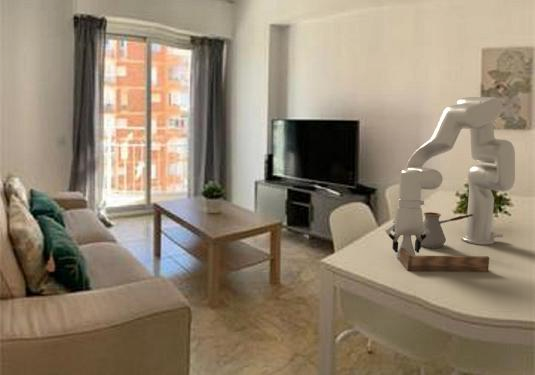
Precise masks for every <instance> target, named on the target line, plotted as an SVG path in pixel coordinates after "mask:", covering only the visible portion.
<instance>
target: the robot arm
mask: <svg viewBox="0 0 535 375" xmlns="http://www.w3.org/2000/svg"><path fill="white" fill-rule="evenodd" d="M502 112H503V103H502V101H501V100H500V99H499V98H497V97H493V96H480V97H479V96H469V97H467V96H466V97H461V98H459V99H458V100H457V101H456V104H455V105H449V106H447V107H445V108H444V110H443V111H442V113H441V115H440V118H439V119H438V122H437V124H436V126H435V128H434V130H433V133H432V134H431V137H430V139H428V141H427V142H425V143H423V144H422V145H421V146H420V147H419V148H417V149H416V150H415V151H414V152H413V154H411V156H410V158H409V159H408V161H407V163H406V166H405V168H404V169H402V170H401V171H400V173H399V186H398V188H399V190H398V201H397V202H398V203H397V206H395V209H394V212H393V219H392V223H391V225H389V226H388V227H386V228H385V230H384V232H385V234H387V236H388V237H389V238H390V239H391V240H392V248H391V249H392V250H393V251H394V252H395V253H396V254H397V252H398V249H399V242H398V240H399V239H400V237H401V236H404V235H411V236H415V241H414V252H416V254H417V253H418V254H419V253H420V250H422V249H421V247H422V246H421V242H422V240H423V239H425V238H426V236H427V235H428V234H429V233H430V230H428V229H427V228H426V227H425V226H424V225H423V222H424V219H423V217H424V216H423V215H424V214H423V209H422V205H425V201H424V200H421V199H422V198H421V197H422V190H431V191H432V190H433V191H434V190H435V189H437V188H439V187H441V185H442V184H443V181H444V180H443V174H442V173H441V172H440V171H438V170H437V169H434V168H429V167H423V166H424V165H425V163H427V161H429V160H430V159H432V158H433V157H436V156H439V155H442V154H445V153H447V152H449V151H451V150H452V149H453V148H454V145H455V144H456V141H457V140H458V137H459V135H460V132H461V130H463V129H464V130H465V129H466V130H469V133H470V153H471V158H472V159H473V160H474V161H475V162H480V164H475V165H473V166H471V167H470V168H469V170H468V172H467V183H468V184H467V185H468V201H467V211H466V213H467V214H466V215H469V214H473V215H474V216H473V218H472V216H471V217H470V216H469V217H468V218H466V224H465V225H466V227H465V234H462V235H461V236H460V239H461V241H462V242H465V243H469V244H474V245H480V246H481V245H483V246H484V245H485V246H488V245H493V244H494V243H495V241H496V240H495V238H503V237H504V233H503V232H497V231H493V230H492V228H493V227H492V226H493V225H492V224H493V218H494V217H493V216H494V215H493V214H494V207H495V206H494V204H495V197H494V194H493V192H492V191H498V192H504V193H505V192H508V191H509V192H510V191H511V190H512V188H514V185H515V181H516V180H515V179H516V151H515V147H514V144H513V143H512V142H511V141H509V140H507V139H501V138H500V139H499V138H496V137H495V127H494V121H496V120H497V119H498V118H499V117H500V116H501V114H502ZM481 163H482V164H481ZM483 163H488V164H483ZM489 164H494V165H489ZM474 217H475V219H474ZM423 230H424V233H423V234H422V232H423ZM391 231H392V232H393V234H392V233H391ZM416 238H417V239H416Z"/></svg>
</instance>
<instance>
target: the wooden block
mask: <svg viewBox="0 0 535 375" xmlns="http://www.w3.org/2000/svg"><path fill="white" fill-rule="evenodd" d="M399 262H400V264H401V265H402V266H403V267H404V268H405V269H406V271H408V272H468V273H469V272H472V273H473V272H477V273H478V272H479V273H482V272H484V273H488V272H489V265H490V257H489V256H487V255H486V256H485V255H483V256H481V255H416V256H411V255H410V254H409V253H408V252H407V251H406V249H405V248H400V258H399Z"/></svg>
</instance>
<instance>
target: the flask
mask: <svg viewBox="0 0 535 375" xmlns="http://www.w3.org/2000/svg"><path fill="white" fill-rule="evenodd" d="M402 236H403V237H402V240H401V242H400V244H399V246H398V252H397V253H396V254H395V256H396V257H397V259H400V248H405V249H406V251H407V252H408V253H409V254H410V255H411V256H417V255H416V253H415V252H416V251H415V248H414V246H413V242H412V235H402Z"/></svg>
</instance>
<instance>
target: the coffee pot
mask: <svg viewBox="0 0 535 375" xmlns="http://www.w3.org/2000/svg"><path fill="white" fill-rule="evenodd" d="M423 215H424V219H423V225H424V226H425V227H426V228H427V229H428V230H430V233H429V234H428V235H427V236H426V238H425V239H423V240H422V242H421V247H423V248H427V247H428V248H429V249H439V248H440V247H442V246H443V245H445V243H446V242H447V241H446V240H447V239H446V235H445V233H444V231H443V227H442V226H441V225H442V224H445V223H448V222H453V221H454V222H455V221H459V220H463V219H467V218H468V217H469V216H470V217H471V216H472V218H473V216H474V215H473V214H469V215H467V214H465V215H460V216H456V217H452V218H450V219H445V220H440V217H441V216H442V215H441V213H439V212H432V211H429V212H428V211H427V212H424V213H423ZM474 219H475V217H474ZM423 233H424V230H423V232H422V234H423ZM416 239H417V238H416V237H415V240H416Z"/></svg>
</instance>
